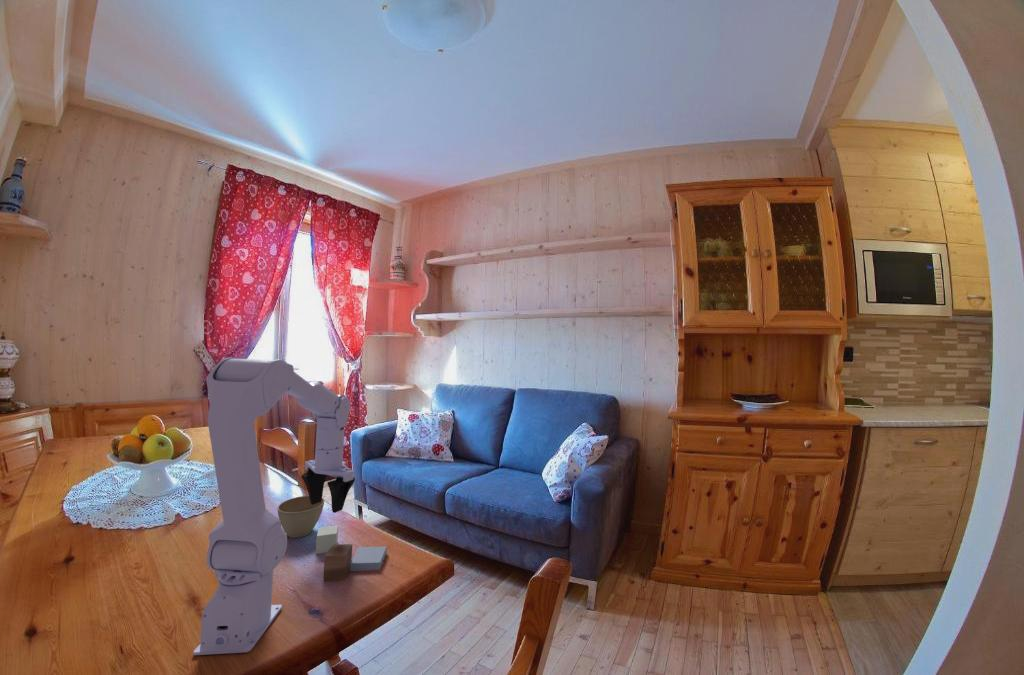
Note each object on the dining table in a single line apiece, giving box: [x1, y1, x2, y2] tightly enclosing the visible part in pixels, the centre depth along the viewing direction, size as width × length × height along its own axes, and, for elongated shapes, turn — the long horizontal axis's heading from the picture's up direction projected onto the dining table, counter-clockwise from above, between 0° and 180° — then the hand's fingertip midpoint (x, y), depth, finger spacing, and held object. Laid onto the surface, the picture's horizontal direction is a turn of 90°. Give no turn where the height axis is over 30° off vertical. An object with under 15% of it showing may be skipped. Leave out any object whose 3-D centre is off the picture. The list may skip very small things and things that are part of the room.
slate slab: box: [349, 546, 388, 572], centre depth 77 cm, size 6×6×2 cm
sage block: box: [315, 524, 339, 555], centre depth 82 cm, size 4×4×4 cm
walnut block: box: [323, 543, 353, 582], centre depth 72 cm, size 4×4×5 cm
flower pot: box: [277, 495, 325, 539], centre depth 88 cm, size 10×10×7 cm
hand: (326, 506), depth 81 cm, fingers open, 7 cm apart
